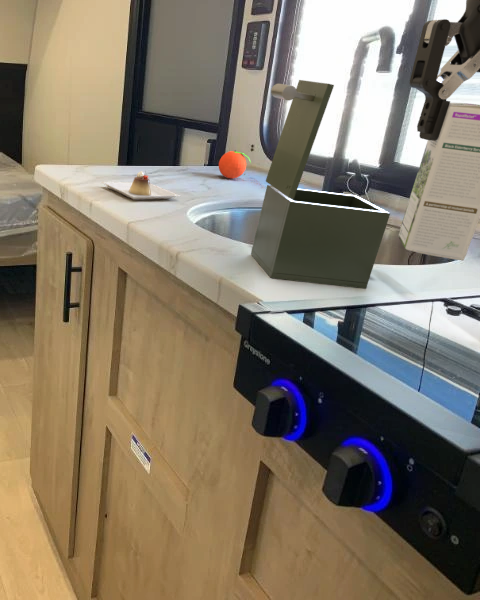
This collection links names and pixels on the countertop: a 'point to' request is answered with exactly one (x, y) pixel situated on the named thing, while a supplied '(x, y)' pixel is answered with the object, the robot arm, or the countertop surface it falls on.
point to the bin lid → (297, 132)
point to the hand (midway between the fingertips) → (464, 143)
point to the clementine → (232, 164)
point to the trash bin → (319, 237)
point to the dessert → (140, 189)
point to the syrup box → (446, 189)
